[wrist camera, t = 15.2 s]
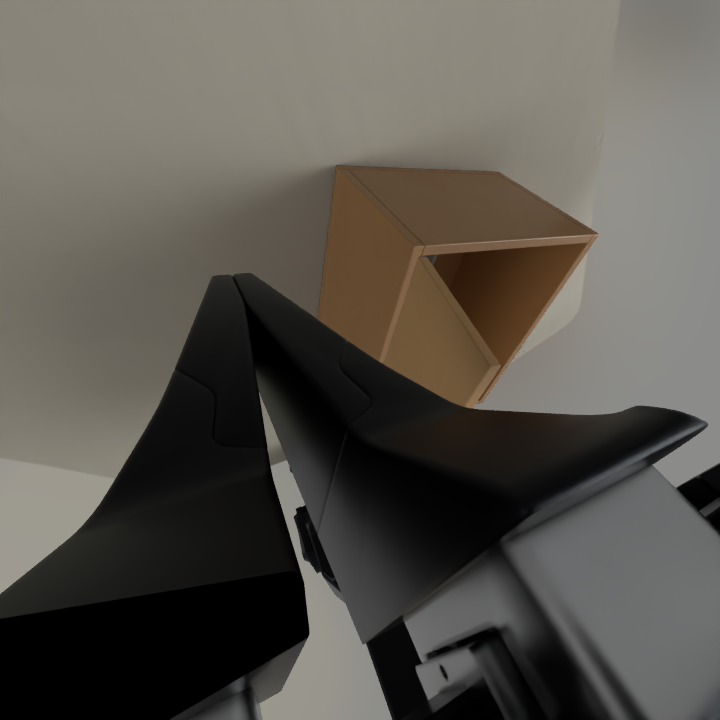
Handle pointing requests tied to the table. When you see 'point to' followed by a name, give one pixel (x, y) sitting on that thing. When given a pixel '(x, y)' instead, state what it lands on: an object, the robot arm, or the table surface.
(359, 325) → the cardboard box
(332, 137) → the table surface
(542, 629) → the robot arm
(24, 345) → the table surface
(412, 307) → the flap
